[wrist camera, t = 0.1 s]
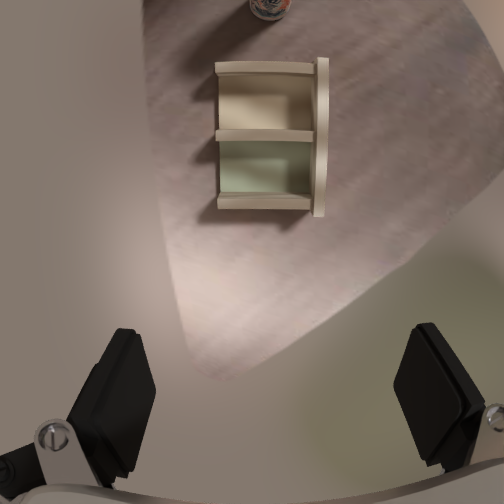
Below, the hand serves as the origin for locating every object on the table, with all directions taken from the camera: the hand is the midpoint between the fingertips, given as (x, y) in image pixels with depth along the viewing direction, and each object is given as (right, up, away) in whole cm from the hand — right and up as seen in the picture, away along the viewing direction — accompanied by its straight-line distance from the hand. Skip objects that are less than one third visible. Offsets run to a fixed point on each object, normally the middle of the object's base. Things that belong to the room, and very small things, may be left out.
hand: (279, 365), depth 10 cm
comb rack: (+1, +18, +26) cm, 32 cm away
